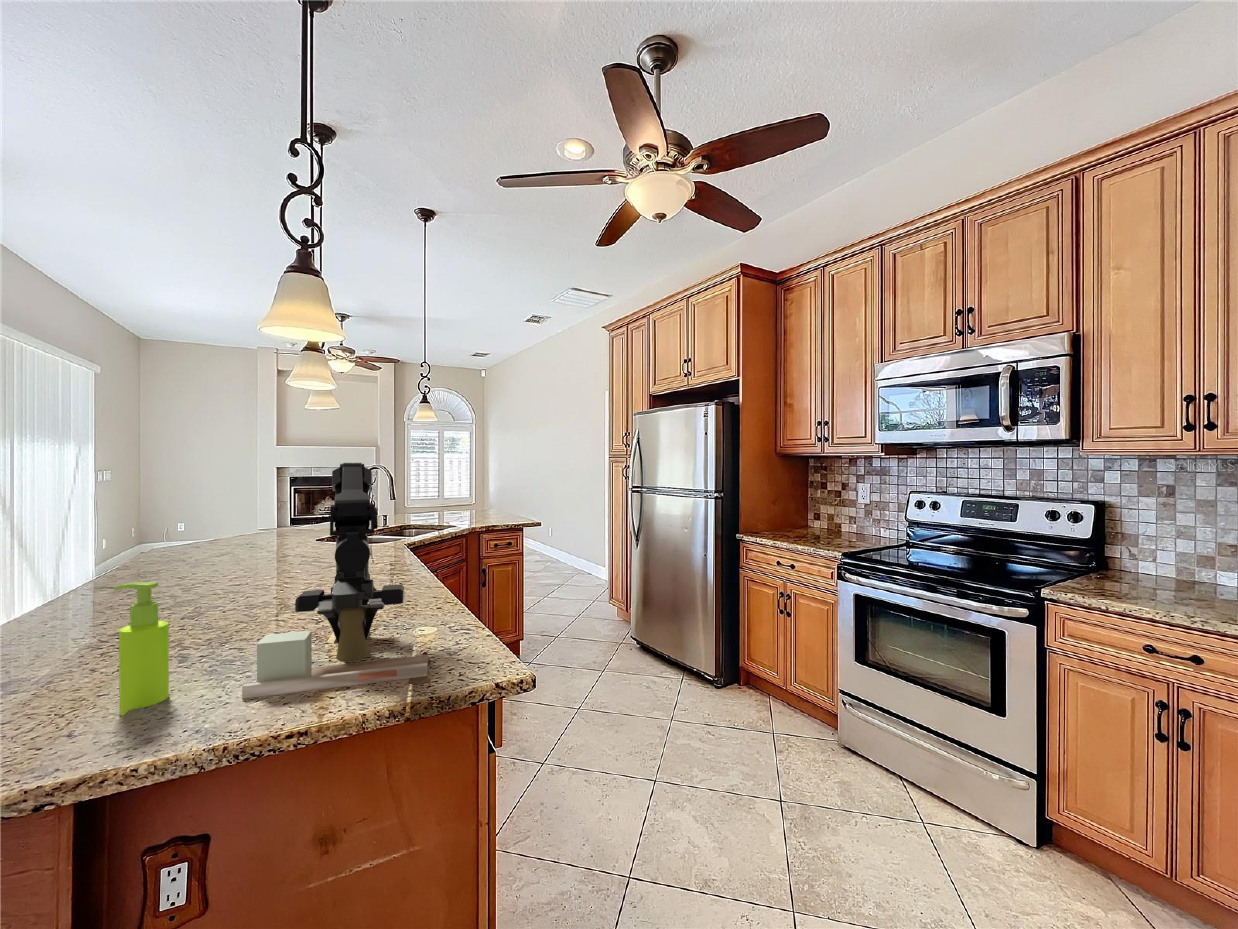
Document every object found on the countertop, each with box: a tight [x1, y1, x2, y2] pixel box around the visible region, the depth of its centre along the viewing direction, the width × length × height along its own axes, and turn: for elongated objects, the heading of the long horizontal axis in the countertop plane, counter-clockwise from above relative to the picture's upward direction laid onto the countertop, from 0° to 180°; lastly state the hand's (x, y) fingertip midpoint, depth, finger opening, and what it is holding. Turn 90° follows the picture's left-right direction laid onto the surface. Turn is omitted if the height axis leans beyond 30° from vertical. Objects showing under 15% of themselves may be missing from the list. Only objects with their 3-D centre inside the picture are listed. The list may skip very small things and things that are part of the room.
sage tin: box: [256, 630, 313, 682], centre depth 91 cm, size 5×7×8 cm
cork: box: [335, 605, 370, 662], centre depth 105 cm, size 6×6×11 cm
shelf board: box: [241, 654, 429, 700], centre depth 95 cm, size 11×28×3 cm, turn 109°
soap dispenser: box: [112, 581, 170, 717], centre depth 85 cm, size 6×7×20 cm
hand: (352, 641), depth 105 cm, fingers closed on cork, 4 cm apart
